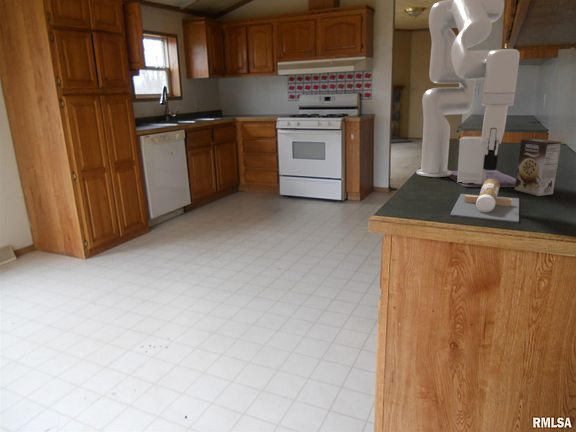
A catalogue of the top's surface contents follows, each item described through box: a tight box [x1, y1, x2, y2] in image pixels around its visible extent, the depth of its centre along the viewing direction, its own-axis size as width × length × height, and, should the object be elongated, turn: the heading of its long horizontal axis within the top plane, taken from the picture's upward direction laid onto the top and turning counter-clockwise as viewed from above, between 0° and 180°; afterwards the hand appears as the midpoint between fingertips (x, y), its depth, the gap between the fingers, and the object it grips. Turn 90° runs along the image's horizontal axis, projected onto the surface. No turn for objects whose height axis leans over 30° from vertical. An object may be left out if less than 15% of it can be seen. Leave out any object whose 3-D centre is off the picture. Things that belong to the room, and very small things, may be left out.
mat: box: [449, 193, 520, 223], centre depth 120 cm, size 24×16×2 cm, turn 153°
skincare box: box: [457, 135, 487, 185], centre depth 148 cm, size 8×7×16 cm
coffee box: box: [514, 138, 562, 197], centre depth 133 cm, size 9×6×16 cm
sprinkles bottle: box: [476, 178, 501, 212], centre depth 119 cm, size 5×5×13 cm
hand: (489, 169), depth 119 cm, fingers closed
